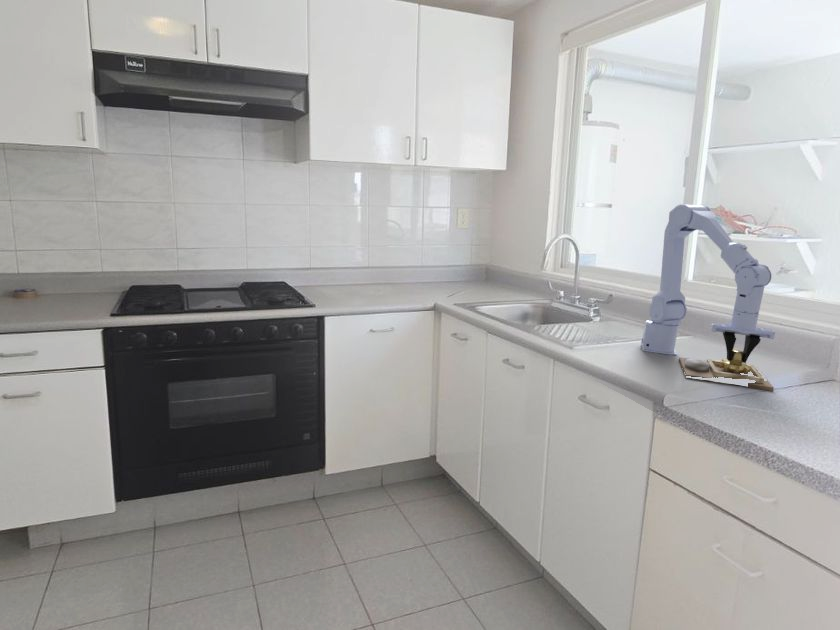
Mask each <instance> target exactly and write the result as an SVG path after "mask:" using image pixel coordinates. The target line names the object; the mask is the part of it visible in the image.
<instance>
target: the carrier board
mask: <svg viewBox="0 0 840 630" xmlns="http://www.w3.org/2000/svg"><path fill="white" fill-rule="evenodd" d="M706 359H707V360H703V359H697V358H687V357H680V356H679V357H678V362H679V365H680V364H681V365H680V367H681V366H682V367H681V369H682V368H683V370H684V372H685V374H686V376H691V377H702V378H712V377H713V378H714V377H715V378H716V377H717V378H718V377H724V378H732V379H749V380H755V381H756V382H755V383H748V387H747V388H749V389H755V390H763V391H768V392H774V386H773V385H772V384H771V382H770V381H769V380H768V379H767V381H764V378H763V377H762V375H761V374H760V373H759V372H758V370H757V369H756V368H757V367H755V366H754V365H753V364H750V365H751V369H750V371H751V372H752V373H753V375H754V376H748V375H741V374H740V373H739V374H736V373H734V372H731V371H725V370H724V368H720V367H719V364H720V361H721V360H719V359H718V360H717V359H709V358H706ZM683 370H682V371H683ZM684 372H683V373H684ZM755 376H756V377H755Z"/></svg>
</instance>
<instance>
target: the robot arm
mask: <svg viewBox="0 0 840 630" xmlns="http://www.w3.org/2000/svg"><path fill="white" fill-rule="evenodd" d="M668 213H669V215H668V222H667V224H666V226H665V229H664V235H663V236H664V237H663V248H662V249H663V250H662V259H661V260H662V261H661V272H660V273H661V274H660V275H661V276H660V287H659V290H658V291H657V292H656V293H655V294H654V295H653V296H652V297H651V298H652V301H651V304H650V305H649V308H648V314H649V317H650V320H648V319H647V320H645V322H644V326H643V327H644V328H643V334H642V337H641V341H640V342H641V343H640V344H641V349H642V351H643V352H647V353H657V354H662V355H663V354H665V355H668V356H669V355H670V356H677V355H678V353H677V351H676V343H677V337H678V330H679V325H680V324H681V321H682V320H683V319H685V318H686V316H687V313H688V312H687V311H688V308H687V305H686V296H684V294H683V293H682V292H681V285H682V274H683V273H682V272H683V263H684V260H683V259H684V249H685V241H686V240H685V239H686V237H688V236H689V235H691V234H692V233H693V232H695V231H697V230H698V231H702V232H703V233H704V234H705V235H706V236H707V237H708V238H709V239H710V240H711V241H712V242H713V243H714V244H715V245H716V246H717V248H719V249H720V251H721V253H720V258H721V259H722V260H723V261H724V262H725V264H726V265H727V267H728V268H729V269H730V270H731V271H732V273H733V274H734V281H735V283H736V297H735V302H734V308H733V311H732V316H731V322H730V323H715V322H712V323H711V325H710V331H711V332H713V333H716V332H719V333H722V336H723V339H724V344H725V347H726V349H725V350H726V360H728V361H731V359H732V354H733V350H734V347H735V344H736V340H737V337H736V335H741V336H745V337H744V338H745V339H744V347H743V352H744V357H743V363H746V364H747V361H748V359H749V356H751V354H752V352H753V351H754V349H755V348H756V347H757V346H758V345H759V344H760V343H761V338H766V339H771V340H774V339H775V335H776V331H774V330H773V329H767V328H766V329H765V328H761V327H757V324H758V319H759V315H760V314H759V313H760V309H761V304H762V300H763V295H764V292H765V291H764V290H765V287H767V286H768V285H769V284H770V283H771V281H772V276H773V275H772V271H771V270H770V269H769V267H768V266H767V265H766V264H760V263H759V259H757V258H755V257H753V255H752V254H751V253H750V252H749V251H748V250H747V249H748V246H747V245H746V244H743V243H740V242H734V241H733V240H732V238H731V237H730V236H729V234H728V233H727V232H726V230H725V229H724V228H723V226H722V225H721V224H720V222H719V221H718V219H717V218H716V213H715V212H713V210H711V208H710V207H709V206H707V205H705V204H700V205H697V204H685V203H681V204H680V203H679V204H678V205H676V206H675V207H674V208H672V210H670V211H669V212H668Z"/></svg>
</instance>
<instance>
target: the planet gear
mask: <svg viewBox="0 0 840 630" xmlns="http://www.w3.org/2000/svg"><path fill="white" fill-rule="evenodd" d="M743 357H744V352H743V351H742V350H740V349H733V354H732V359H731V361H728V360H727V358H726V359H725V358H722V359H721V360H719V361H720V364H719V367H720V368H724V370H725V371H731V372H734V373H736V374H739V373H744V374H748V372H750V369H751V365H752V364H747V362H746V363H743Z"/></svg>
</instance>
